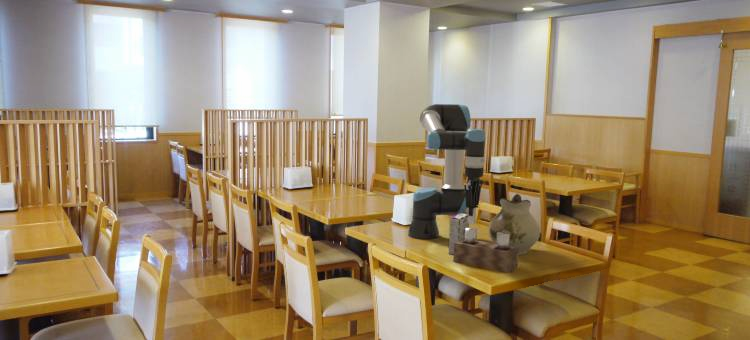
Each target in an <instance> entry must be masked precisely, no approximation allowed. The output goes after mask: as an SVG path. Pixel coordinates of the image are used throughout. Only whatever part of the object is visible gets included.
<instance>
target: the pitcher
mask: <svg viewBox="0 0 750 340" xmlns="http://www.w3.org/2000/svg"><path fill="white" fill-rule="evenodd" d="M499 205H501V209H500V211H499V212H497V214H496V215H495V216H494V217H493V218H492V219H491V220H490V223H489V225H488V234H489V237H490V239H491V240H492V243H494V244H496V241H497V233H498V232H506V233H509V234H510V237H509V246H511V247H517V248H519V253H518V256H520V255H526V254H527V253H528V251H529V250H530V249H531V248H532V247H533V246H534V245H535V244H536V243H537V242H538V240H539V238H540V235H541V227H540V225H539V222H538V221H537V220H536V218H535V217H534V216H533V215H532V213H531V211H530V208H531V205H532V202H531V201H530V200H529V199H523V200H522V196H521V195H520V194H518V193H516V194H515V195H513V197H511V200H509V199H507V198H504V197H502V198H500V200H499Z"/></svg>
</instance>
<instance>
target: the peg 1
mask: <svg viewBox="0 0 750 340" xmlns="http://www.w3.org/2000/svg"><path fill="white" fill-rule="evenodd" d="M477 241H478V228H477V227H473V226H469V227H466V228H465V240H464V243H466V244H471V245H475V244H477Z"/></svg>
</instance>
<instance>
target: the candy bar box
mask: <svg viewBox="0 0 750 340" xmlns="http://www.w3.org/2000/svg"><path fill="white" fill-rule="evenodd" d="M466 227H470V223H468V213H467V214H466V213H464V214H458V215H452V216H451V217H449V234H448V235H449V239H448V241H449V242H448V254H449V255H452V256H454V243H455V242H457V241H460V240H462V239H464V238H465V228H466Z"/></svg>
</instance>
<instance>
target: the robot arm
mask: <svg viewBox="0 0 750 340" xmlns="http://www.w3.org/2000/svg"><path fill="white" fill-rule="evenodd" d="M469 109H470V108H469V107H468V106H467V105H465V104H450V103H449V104H446V103H445V104H443V103H442V104H441V103H435V104H431V105H429V106H427V107H426V108H424V109H423V111H421V113H420V117H419V122H420V124H421V126H422V128H424V129H425V130H426V132H427V134H426V139H425V140H426V143H425V144H426V148H427V149H429V150H435V151H436V150H439V151H440V150H441V151H442V150H445V151H444V153H445V155H444V183H443V185H442V186H441V189H440V190H438V189H437V188H436V187H424V188H418V189H416V190H415V191H413V194H412V195H413V196H412V215H411V216H412V220H411V222H410V225H409V227H408V232H407V234H408V236H409V237H411V238H413V239H414V238H415V239H421V240H433V239H437V238H439V237H440V231H439V230H440V229H439V227H438V223H437V216H455V215H458V214H466V212H468V213H467V214H468V223H469V225H470V224H471V225H476V215H477V214H476V213H477V211H476V210H477V208H479V206H480V204H479V203H480V197H481V192H482V191H481V189H482V186H483V182H482V181H481V179H480V178H483V177H484V171H485V170H484V163H485V161H486V160H485V147H486V131H485V129H483V128H482V129H481V128H471V114H470V113H471V112H470V110H469ZM464 151H465V160H464V162H463V159H464ZM463 164H464V165H463ZM464 166H465V167H464ZM463 167H464V176H465V177H467V181H466V183H467V184H464V185H463ZM467 210H468V211H467Z"/></svg>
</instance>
